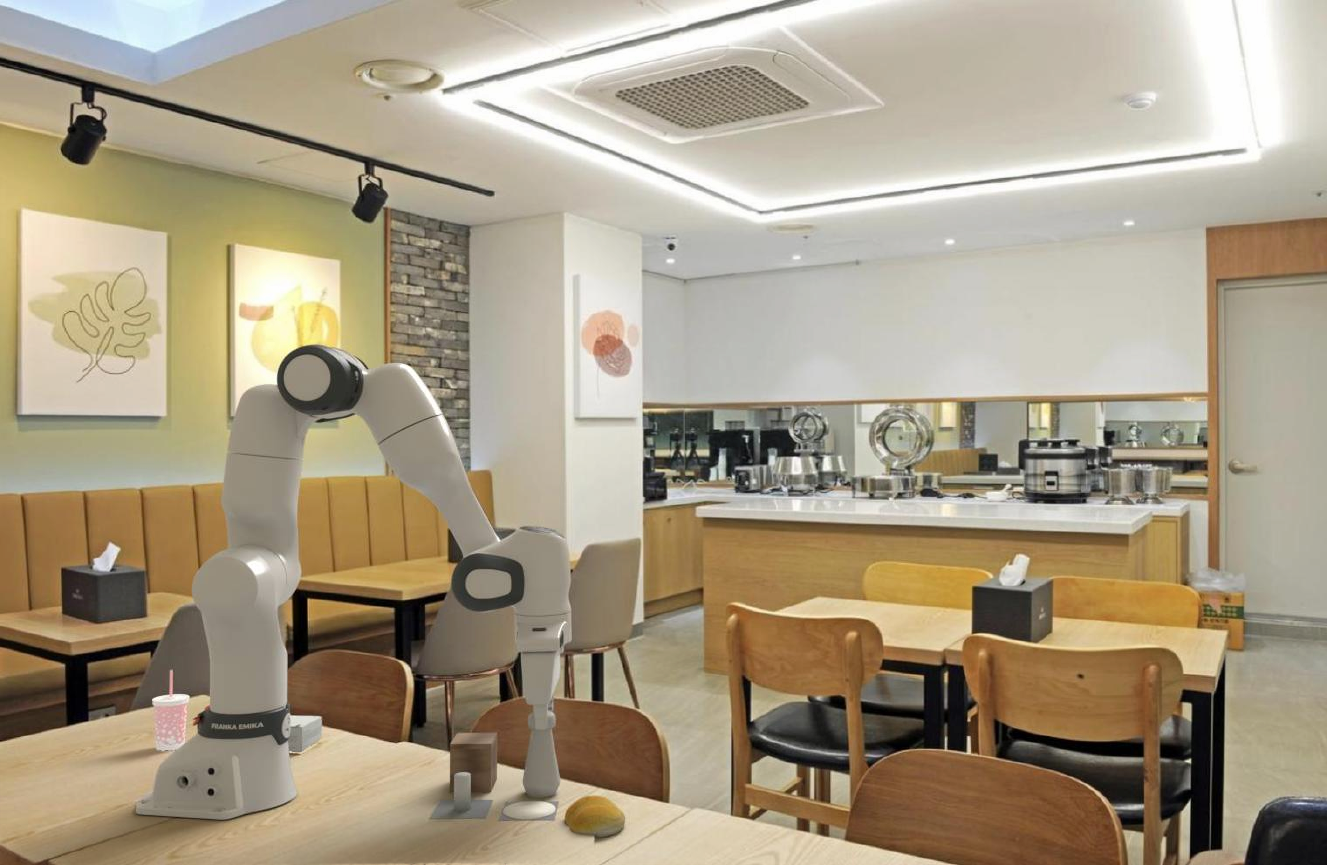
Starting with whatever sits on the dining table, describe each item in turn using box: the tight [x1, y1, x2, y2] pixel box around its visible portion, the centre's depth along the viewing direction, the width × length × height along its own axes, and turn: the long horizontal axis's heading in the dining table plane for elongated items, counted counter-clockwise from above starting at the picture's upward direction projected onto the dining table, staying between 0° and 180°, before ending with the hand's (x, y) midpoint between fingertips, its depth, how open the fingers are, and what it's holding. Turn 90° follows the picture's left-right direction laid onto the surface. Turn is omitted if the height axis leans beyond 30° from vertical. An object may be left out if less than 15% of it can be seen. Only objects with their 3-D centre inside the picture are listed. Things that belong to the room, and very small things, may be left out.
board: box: [429, 772, 494, 820], centre depth 150 cm, size 8×8×6 cm
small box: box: [288, 715, 323, 752], centre depth 184 cm, size 8×8×5 cm
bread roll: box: [564, 795, 626, 838], centre depth 144 cm, size 8×9×4 cm
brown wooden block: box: [449, 732, 498, 793], centre depth 161 cm, size 6×6×8 cm
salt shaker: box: [522, 711, 561, 799], centre depth 157 cm, size 6×6×13 cm
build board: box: [498, 800, 560, 822], centre depth 149 cm, size 8×8×1 cm
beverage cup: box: [151, 669, 191, 752], centre depth 185 cm, size 6×6×14 cm
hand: (544, 720), depth 157 cm, fingers open, 8 cm apart
